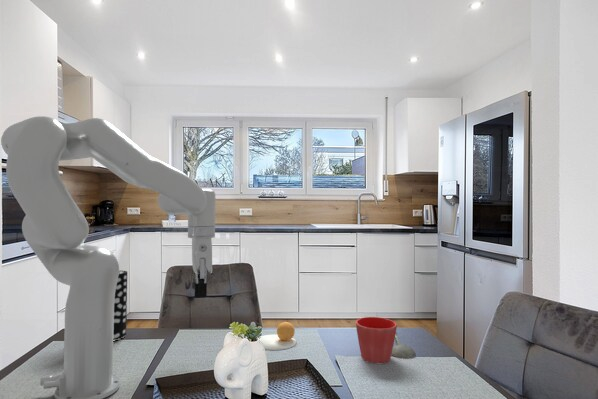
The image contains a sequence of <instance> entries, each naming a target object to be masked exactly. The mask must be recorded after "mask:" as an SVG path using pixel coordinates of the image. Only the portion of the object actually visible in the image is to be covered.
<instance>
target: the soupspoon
mask: <svg viewBox="0 0 598 399" xmlns="http://www.w3.org/2000/svg"><path fill="white" fill-rule="evenodd" d="M395 340H396V343H397V344H394V345H393V349H392V354H391V356H393V357H394V358H396V359H402V358H403V359H405V360H409V358H411V359H414V358H415V357H416V352H415V350H414V349H413V348H412V347H411V346H410V345H407V344H404V343H401V340H400V338H399V337H398V335H397V333H396V334H395Z"/></svg>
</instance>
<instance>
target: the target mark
mask: <svg viewBox="0 0 598 399" xmlns="http://www.w3.org/2000/svg"><path fill="white" fill-rule="evenodd" d="M260 337H261V338H260V339H259V340H260V341H261V342H262V343H263V345H264V347H265V350H266V351H284V350H288V349H291V348H293V347H295V346H296V344H297V340H296V339H295V338H294V337H292V339H290V340H288V341H283V340H281V339H280V338H279V337H278V335H277V334H265V335H261V336H260ZM265 350H264V351H265Z"/></svg>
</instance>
